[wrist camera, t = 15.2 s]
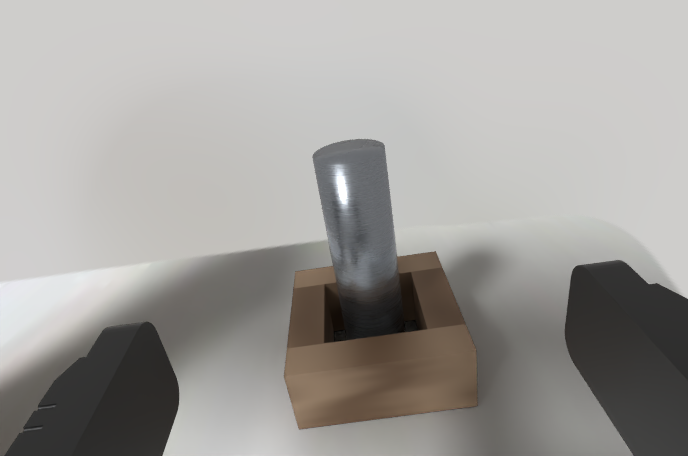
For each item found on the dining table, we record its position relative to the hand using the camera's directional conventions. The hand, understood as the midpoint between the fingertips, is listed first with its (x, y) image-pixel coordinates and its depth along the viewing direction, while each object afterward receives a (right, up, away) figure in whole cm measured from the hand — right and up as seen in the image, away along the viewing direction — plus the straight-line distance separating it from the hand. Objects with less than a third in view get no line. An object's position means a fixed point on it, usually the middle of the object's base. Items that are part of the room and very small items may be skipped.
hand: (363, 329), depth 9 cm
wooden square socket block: (+2, -5, +17) cm, 18 cm away
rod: (+2, -5, +17) cm, 18 cm away
